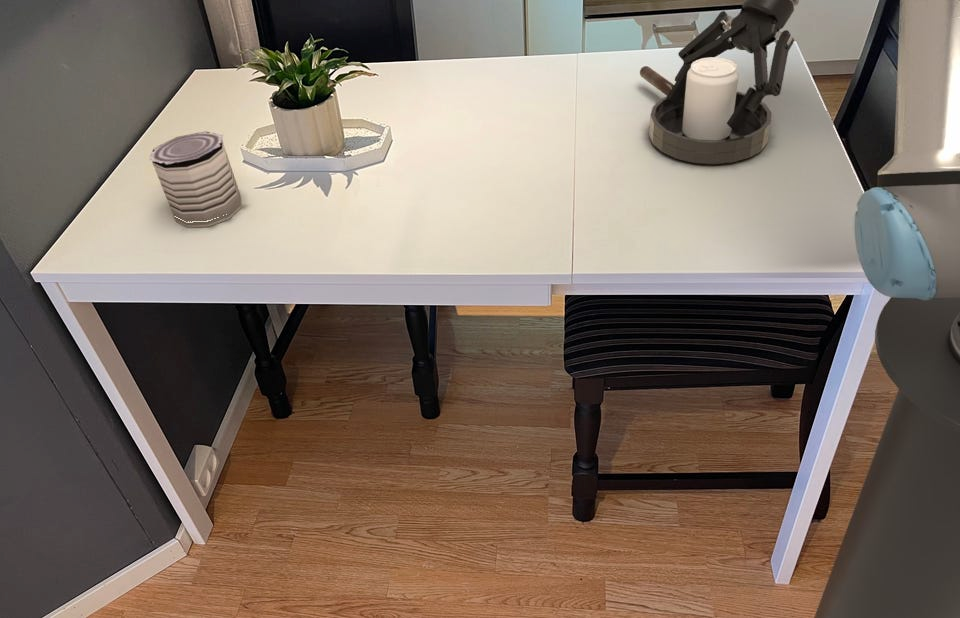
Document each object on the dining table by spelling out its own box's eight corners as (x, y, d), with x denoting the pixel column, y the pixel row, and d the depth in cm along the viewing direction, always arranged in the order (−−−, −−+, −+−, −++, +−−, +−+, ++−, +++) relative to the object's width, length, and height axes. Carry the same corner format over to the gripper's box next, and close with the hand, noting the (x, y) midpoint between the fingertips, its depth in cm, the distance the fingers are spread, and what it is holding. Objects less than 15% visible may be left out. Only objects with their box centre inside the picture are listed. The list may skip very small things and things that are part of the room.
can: (172, 234, 125) (145, 168, 118) (175, 199, 134) (150, 135, 126) (244, 219, 127) (222, 153, 119) (242, 185, 136) (221, 121, 128)
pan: (791, 149, 130) (796, 124, 127) (687, 178, 126) (690, 152, 123) (724, 102, 144) (727, 79, 141) (629, 127, 140) (630, 104, 137)
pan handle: (684, 101, 141) (685, 89, 139) (673, 104, 140) (674, 92, 139) (647, 74, 150) (648, 63, 149) (637, 76, 150) (637, 65, 148)
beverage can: (735, 143, 131) (745, 74, 124) (686, 146, 132) (692, 78, 124) (725, 121, 137) (733, 54, 130) (678, 124, 138) (683, 57, 130)
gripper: (849, 27, 122) (769, 149, 125) (724, -8, 138) (656, 101, 141) (834, 1, 116) (752, 130, 120) (706, -32, 132) (636, 82, 136)
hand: (700, 114), depth 130 cm, fingers open, 12 cm apart
